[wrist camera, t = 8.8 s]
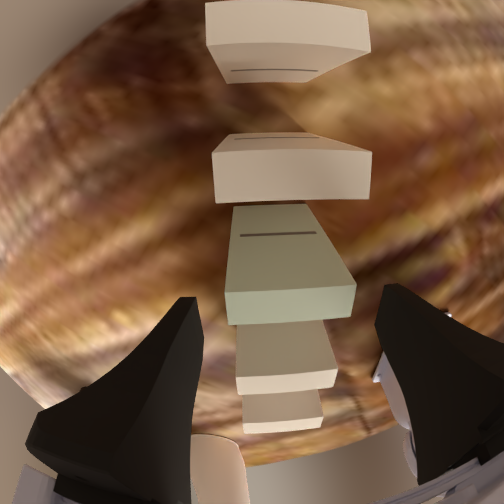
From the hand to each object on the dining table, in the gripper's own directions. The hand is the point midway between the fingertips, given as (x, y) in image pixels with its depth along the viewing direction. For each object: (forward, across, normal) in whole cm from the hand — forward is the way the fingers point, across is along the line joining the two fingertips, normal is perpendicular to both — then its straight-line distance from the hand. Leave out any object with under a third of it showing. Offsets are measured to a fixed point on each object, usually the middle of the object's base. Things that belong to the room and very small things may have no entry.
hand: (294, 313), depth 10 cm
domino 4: (+10, 0, +5) cm, 12 cm away
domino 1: (+10, 0, -10) cm, 14 cm away
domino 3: (+10, 0, 0) cm, 10 cm away
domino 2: (+10, 0, -5) cm, 12 cm away
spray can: (+11, +8, +37) cm, 39 cm away
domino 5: (+10, 0, +10) cm, 14 cm away
